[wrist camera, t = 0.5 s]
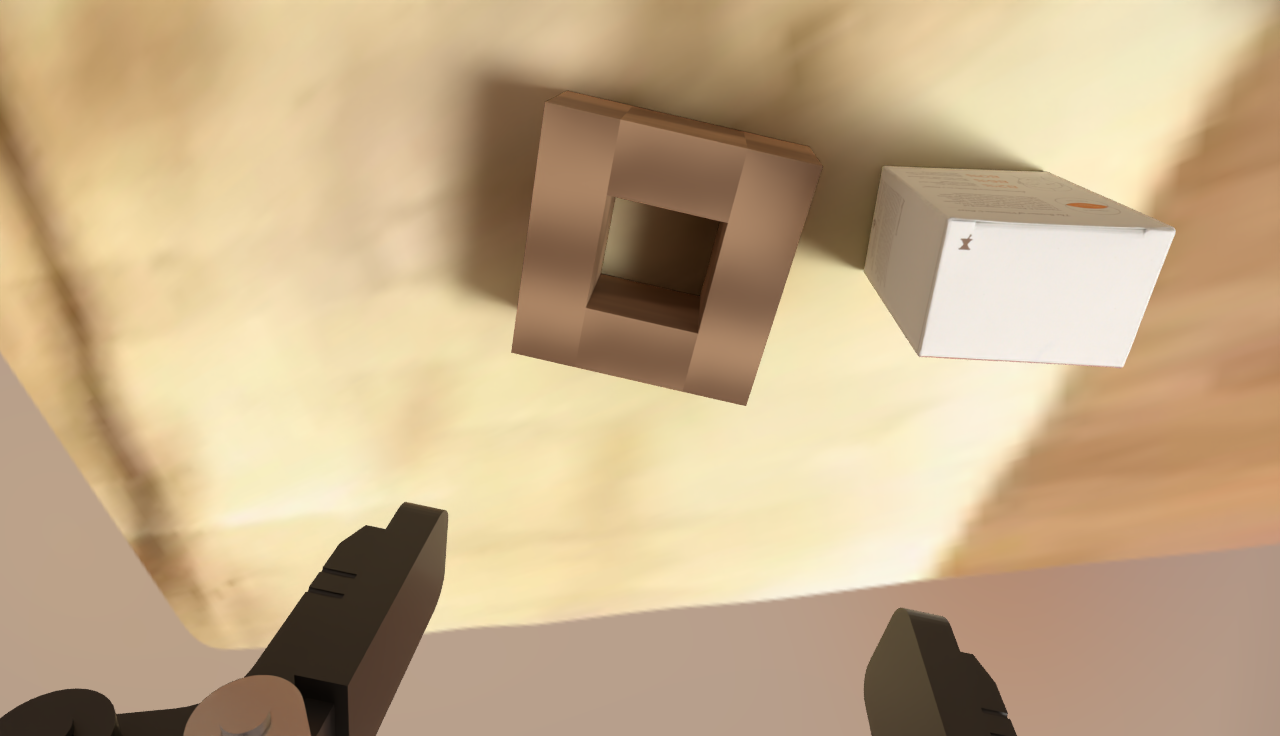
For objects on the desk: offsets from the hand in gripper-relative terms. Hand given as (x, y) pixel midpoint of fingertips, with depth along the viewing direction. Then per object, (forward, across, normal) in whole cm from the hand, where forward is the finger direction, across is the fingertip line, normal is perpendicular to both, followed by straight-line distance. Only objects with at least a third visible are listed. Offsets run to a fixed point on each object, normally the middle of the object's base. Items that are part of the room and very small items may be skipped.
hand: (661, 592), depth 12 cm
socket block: (+26, +2, +2) cm, 27 cm away
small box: (+27, -12, -2) cm, 30 cm away
